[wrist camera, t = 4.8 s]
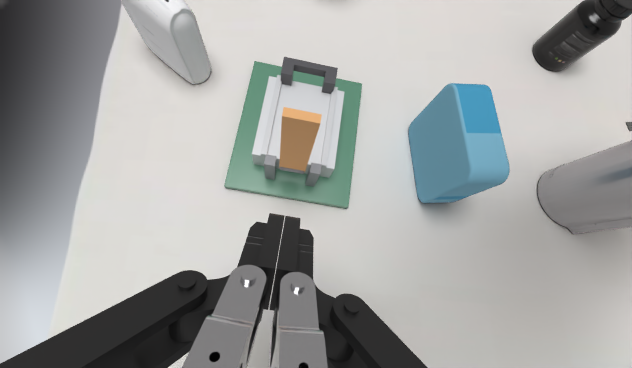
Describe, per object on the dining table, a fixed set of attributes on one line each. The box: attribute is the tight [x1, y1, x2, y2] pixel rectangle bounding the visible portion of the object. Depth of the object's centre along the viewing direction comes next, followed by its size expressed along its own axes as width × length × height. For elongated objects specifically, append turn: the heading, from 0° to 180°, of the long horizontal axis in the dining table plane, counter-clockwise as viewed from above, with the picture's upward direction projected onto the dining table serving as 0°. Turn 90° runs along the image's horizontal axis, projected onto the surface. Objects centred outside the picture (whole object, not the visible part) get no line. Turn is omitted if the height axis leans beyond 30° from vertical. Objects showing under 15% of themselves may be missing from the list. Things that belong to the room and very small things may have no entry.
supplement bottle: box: [533, 0, 632, 71], centre depth 47 cm, size 7×7×12 cm
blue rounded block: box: [409, 83, 509, 203], centre depth 37 cm, size 12×4×12 cm, turn 3°
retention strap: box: [279, 107, 322, 174], centre depth 29 cm, size 1×3×13 cm, turn 82°
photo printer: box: [121, 0, 212, 84], centre depth 36 cm, size 10×4×12 cm, turn 50°
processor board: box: [224, 57, 362, 209], centre depth 38 cm, size 19×16×7 cm
